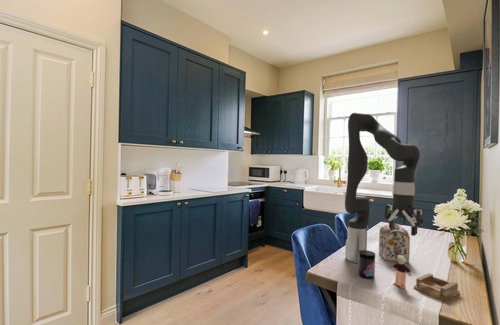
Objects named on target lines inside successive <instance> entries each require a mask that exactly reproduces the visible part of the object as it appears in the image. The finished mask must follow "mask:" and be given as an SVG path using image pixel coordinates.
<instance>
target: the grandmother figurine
mask: <svg viewBox="0 0 500 325" xmlns="http://www.w3.org/2000/svg"><path fill="white" fill-rule="evenodd" d="M397 258H398V262H397V263H395V264H393V266H392V268H391V270H392V271H394V272H395V270H396V272H395V281H394V282H393V284H392V285H394V286H396V287H398V286H399V288H401V289H406V288H407V287H406V279H407V274H406V273H408V276H409V278H410V277H412V276H413V275H412V272H411V270H410V268H409V267H408V266H406V264H405V263H408V262H407V261H406V258H405V257H404V256H402V255H399V256H398V257H397Z"/></svg>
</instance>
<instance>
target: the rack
mask: <svg viewBox="0 0 500 325" xmlns="http://www.w3.org/2000/svg"><path fill="white" fill-rule="evenodd" d="M413 289H415V290H416V291H417V290H418V291H420V292H422V293H425V294H426V295H429V296H431V297H434V298H437V299H439V300H442V301H444V302H446V301H449V300H450V299H452V298H454V297H455V296H457V295H459V294H460V293H461V292H460V290H459V288H458V283H457V282H456V281H451V282H450V281H449V280H448V281H447V280H446V279H442V278H439V277H437V276H434V274H432V273H426V274H423V275H421V276H419V277H416V284H415V285H414V286H413Z"/></svg>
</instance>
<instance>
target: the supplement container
mask: <svg viewBox="0 0 500 325" xmlns="http://www.w3.org/2000/svg"><path fill="white" fill-rule="evenodd" d="M357 269H358V272H357V273H358V276H359V277H360V278H363V279H365V280H366V279H367V280H372V279H375V275H376V273H375V272H376V253H375V252H374V251H371V250H368V249H367V250H360V251H359V263H358V268H357Z"/></svg>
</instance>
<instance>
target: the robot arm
mask: <svg viewBox="0 0 500 325" xmlns="http://www.w3.org/2000/svg"><path fill="white" fill-rule="evenodd" d="M361 132H366V133H370V134H371V135H372V136H373V138H374V141H375V142H376V143H377V144H378V146H380V147H381V148H383V149H384V150H385V151H386V153H387V154H388V156H389V157H390V158H391V159H392V160H395V162H402V164H401V166H399V167H396V168H395V169H394V175H393V176H394V179H393V180H394V181H393V189H392V205H391V204H386V205H385V206H384V207H385V208H384V219H385V220H387V221H388V226H389V228H390V230H394V229H395V224H396V223H395V222H396V221H395V220H396V219H397V218H398V219H399V218H402V219H406V220H407V221H408V222H409V223H410V225H411V230H410V234H411V235H410V236H411V237H412V236H416V235H417V234H418V227H419V226H420V227H421V226H423V225H424V210H423V209H415V195H416V194H415V193H416V191H415V188H416V186H415V171H416V169H417V166H418V163H419V160H420V155H421V153H420V150H419V147H418V146H417V145H416V144H411V143H410V144H409V143H408V144H407V143H402V141H401V139H400V138H399V137H398V136H397V135H396V134H394V133H392V132H391V131H389V130H387V129H386V128H385V127H384V126H383V125H382V124H380V122H379V121H377V119H376V118H375V117H374V116H373V115H372V114H370V113H366V112H351V114H350V115H349V117H348V120H347V134H348V159H347V181H346V182H347V184H346V192H345V196H344V197H345V198H344V207H345V208H344V209H345V211H346V213H347V214H349V215H350V214H351V215H355V216H354V217H353V218H351V219H348V221H347V239H346V240H345V254H344V255H345V257H344V258H345V259H347V261H349V262H351V263H354V264H359V251H360V250H368V246H367V245H368V243H367V242H368V225H369V222H370V208H371V204H370V200H369V198H368V197H367V196H366V195H357V191H358V187H359V184H360V183H361V182H362V180H363V179H364V177H365V176H366V174H367V171H368V165H369V164H368V163H369V162H368V159H369V158H368V155H367V152H366V150H365V148H364V146H363V145H362V143H361V142H362V141H361V137H360V135H361V134H360V133H361ZM414 215H415V216H416V217H415V216H414Z"/></svg>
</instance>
